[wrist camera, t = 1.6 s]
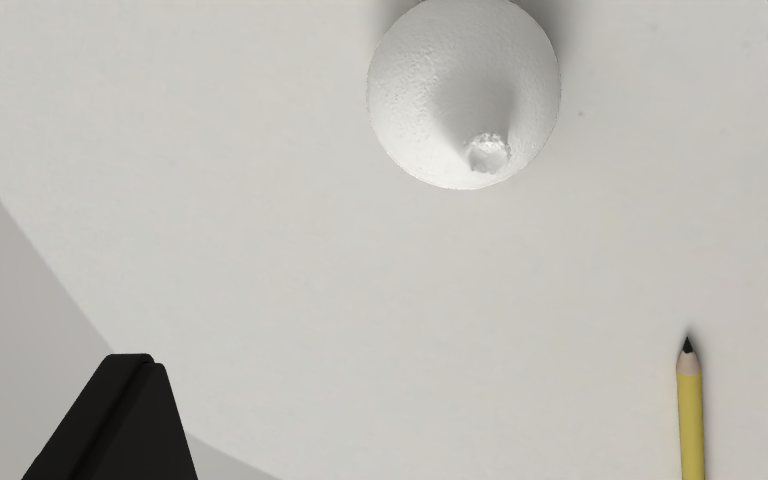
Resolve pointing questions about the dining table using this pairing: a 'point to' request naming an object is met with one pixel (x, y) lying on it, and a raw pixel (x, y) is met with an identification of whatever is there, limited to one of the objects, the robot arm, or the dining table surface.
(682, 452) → the pencil
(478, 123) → the garlic bulb
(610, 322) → the dining table surface
